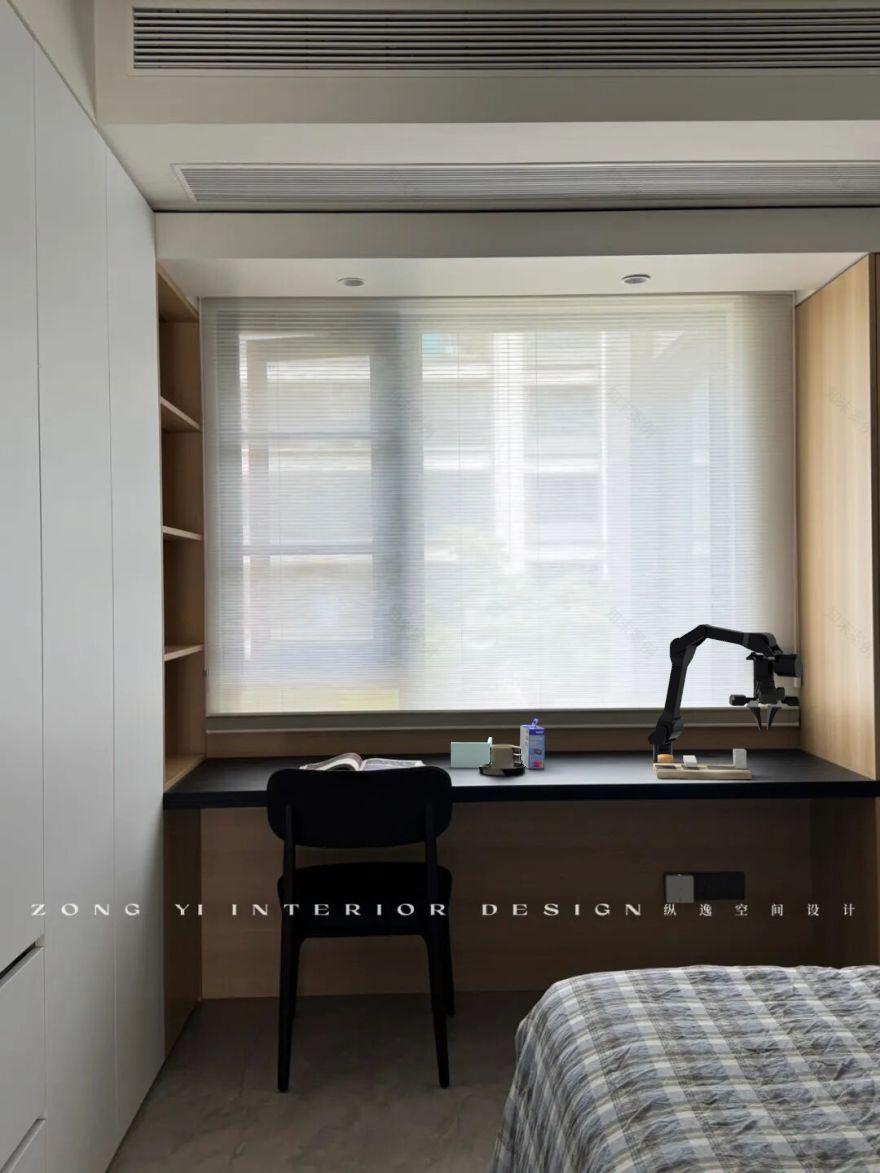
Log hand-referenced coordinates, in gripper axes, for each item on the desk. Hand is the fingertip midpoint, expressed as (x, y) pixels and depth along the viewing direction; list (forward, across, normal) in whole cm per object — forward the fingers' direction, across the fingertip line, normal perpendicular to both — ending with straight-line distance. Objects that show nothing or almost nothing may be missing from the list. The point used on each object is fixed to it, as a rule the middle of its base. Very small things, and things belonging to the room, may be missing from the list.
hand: (764, 730), depth 280 cm
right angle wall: (+13, -86, +12) cm, 88 cm away
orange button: (+9, -28, 0) cm, 30 cm away
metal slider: (+11, -7, 0) cm, 13 cm away
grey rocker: (+10, -21, 0) cm, 23 cm away
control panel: (+13, -18, 0) cm, 22 cm away
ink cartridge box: (+13, -67, +10) cm, 69 cm away
